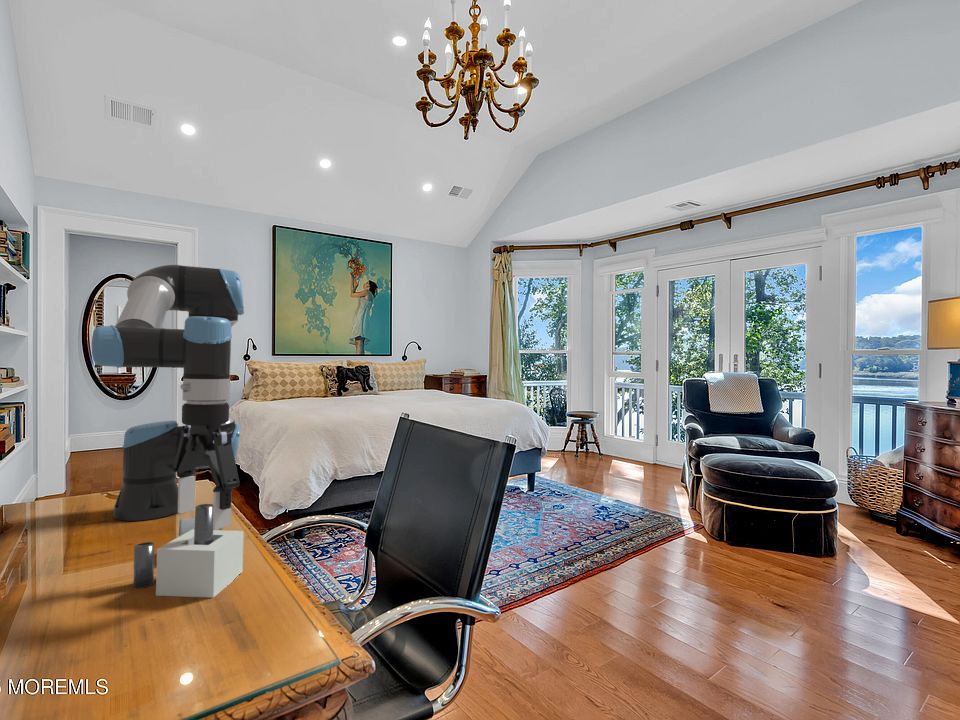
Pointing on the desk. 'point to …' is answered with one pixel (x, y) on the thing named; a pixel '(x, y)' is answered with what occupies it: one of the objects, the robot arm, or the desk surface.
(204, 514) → the long pin
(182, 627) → the desk surface
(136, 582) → the short pin
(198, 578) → the hole block
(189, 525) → the ceramic mug
